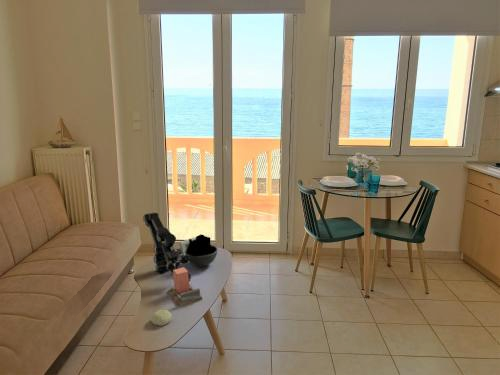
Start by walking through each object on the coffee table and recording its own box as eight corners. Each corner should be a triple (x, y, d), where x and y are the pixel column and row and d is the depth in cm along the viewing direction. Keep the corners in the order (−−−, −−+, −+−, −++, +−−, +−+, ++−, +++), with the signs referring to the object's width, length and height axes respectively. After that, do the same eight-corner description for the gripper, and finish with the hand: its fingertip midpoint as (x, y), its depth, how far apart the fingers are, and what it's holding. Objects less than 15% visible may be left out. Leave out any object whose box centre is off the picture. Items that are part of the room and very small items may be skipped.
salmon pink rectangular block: (174, 288, 206) (173, 270, 204) (185, 285, 209) (183, 267, 207) (178, 293, 201) (177, 274, 199) (189, 290, 204) (187, 271, 202)
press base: (168, 291, 207) (167, 281, 205) (188, 285, 213) (188, 275, 211) (180, 306, 192) (179, 295, 190) (202, 299, 198) (201, 289, 196)
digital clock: (183, 259, 248) (181, 244, 246) (177, 255, 255) (176, 240, 253) (205, 253, 256) (204, 238, 254) (199, 249, 264) (198, 235, 261)
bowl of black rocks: (218, 257, 249) (217, 230, 244) (217, 271, 229) (215, 242, 225) (188, 259, 248) (186, 231, 244) (184, 272, 229) (181, 243, 224)
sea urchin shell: (176, 317, 178) (164, 311, 174) (166, 332, 177) (153, 326, 172) (168, 309, 186) (156, 302, 181) (158, 323, 184) (146, 317, 179)
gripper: (155, 248, 204) (163, 275, 198) (187, 241, 214) (196, 266, 207) (151, 257, 213) (159, 283, 206) (183, 249, 222) (192, 274, 215)
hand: (177, 276), depth 208 cm, fingers closed
